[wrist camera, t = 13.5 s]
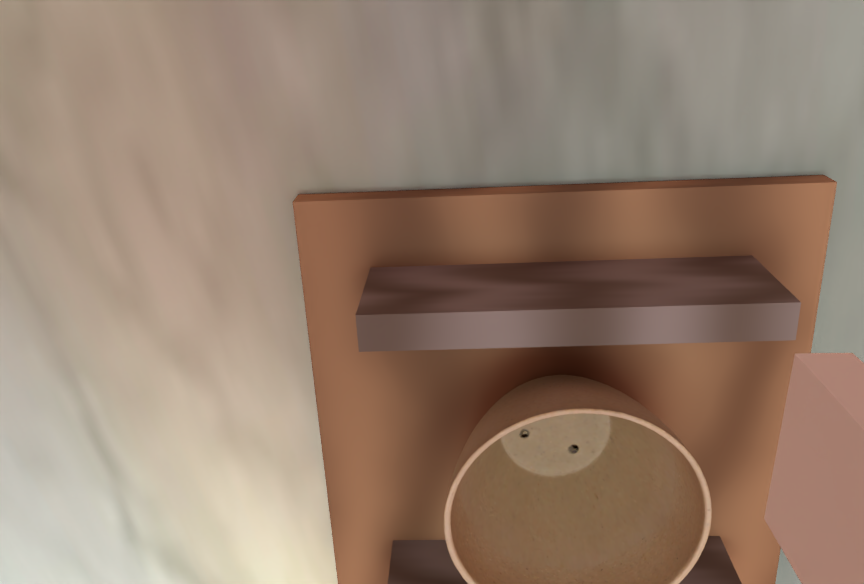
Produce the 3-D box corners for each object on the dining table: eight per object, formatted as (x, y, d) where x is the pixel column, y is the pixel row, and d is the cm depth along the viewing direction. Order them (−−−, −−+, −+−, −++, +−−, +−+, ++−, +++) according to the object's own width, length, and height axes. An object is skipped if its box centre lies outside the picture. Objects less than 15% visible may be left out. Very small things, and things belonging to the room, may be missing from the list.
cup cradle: (344, 593, 41) (325, 692, 36) (298, 194, 33) (264, 240, 27) (762, 589, 40) (813, 690, 35) (824, 174, 32) (903, 218, 26)
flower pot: (565, 545, 38) (587, 665, 32) (404, 437, 36) (391, 541, 29) (711, 409, 35) (770, 510, 28) (543, 281, 33) (564, 358, 26)
